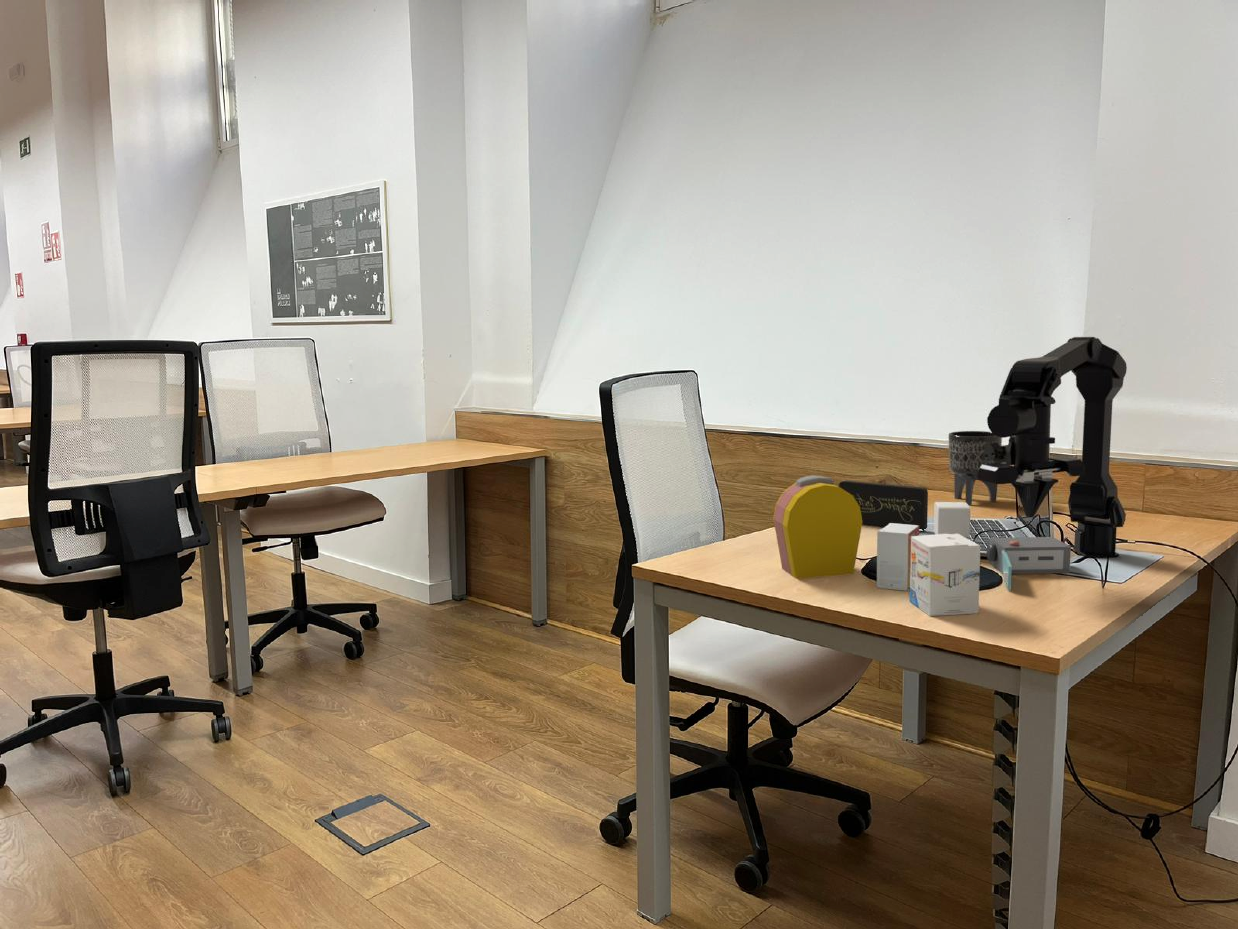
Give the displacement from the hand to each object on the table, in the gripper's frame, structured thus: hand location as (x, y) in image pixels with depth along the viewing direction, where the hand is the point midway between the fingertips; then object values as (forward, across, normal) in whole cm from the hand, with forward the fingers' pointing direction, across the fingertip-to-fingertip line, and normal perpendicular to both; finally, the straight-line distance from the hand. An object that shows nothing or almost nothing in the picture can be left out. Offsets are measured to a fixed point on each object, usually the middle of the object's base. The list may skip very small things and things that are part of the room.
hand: (1029, 517), depth 167 cm
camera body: (+12, -5, -6) cm, 14 cm away
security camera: (+12, +1, -22) cm, 25 cm away
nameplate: (+12, 0, -48) cm, 50 cm away
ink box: (+11, +24, +9) cm, 28 cm away
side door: (+11, +5, 0) cm, 12 cm away
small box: (+12, +23, -6) cm, 27 cm away
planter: (+13, -38, -65) cm, 76 cm away
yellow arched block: (+11, +32, -20) cm, 40 cm away
